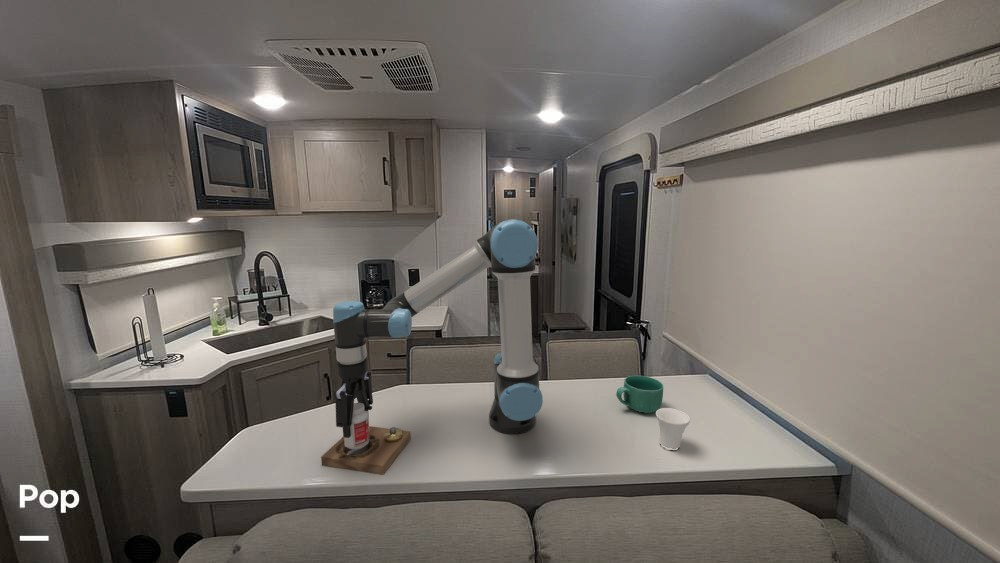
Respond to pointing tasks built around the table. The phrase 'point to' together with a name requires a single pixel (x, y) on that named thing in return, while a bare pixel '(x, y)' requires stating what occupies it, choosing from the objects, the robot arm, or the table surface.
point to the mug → (641, 393)
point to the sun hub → (392, 435)
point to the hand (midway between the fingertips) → (357, 438)
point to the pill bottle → (360, 426)
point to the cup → (671, 426)
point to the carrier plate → (367, 453)
